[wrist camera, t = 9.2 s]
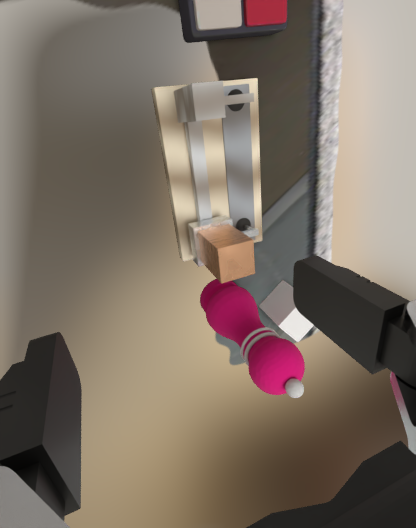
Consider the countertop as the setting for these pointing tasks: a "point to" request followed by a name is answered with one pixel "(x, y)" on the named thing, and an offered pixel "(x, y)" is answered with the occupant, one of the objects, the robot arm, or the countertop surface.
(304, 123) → the countertop surface
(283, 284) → the white cube
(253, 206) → the board
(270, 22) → the button box
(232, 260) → the slider
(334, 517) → the robot arm
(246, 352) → the pepper mill
